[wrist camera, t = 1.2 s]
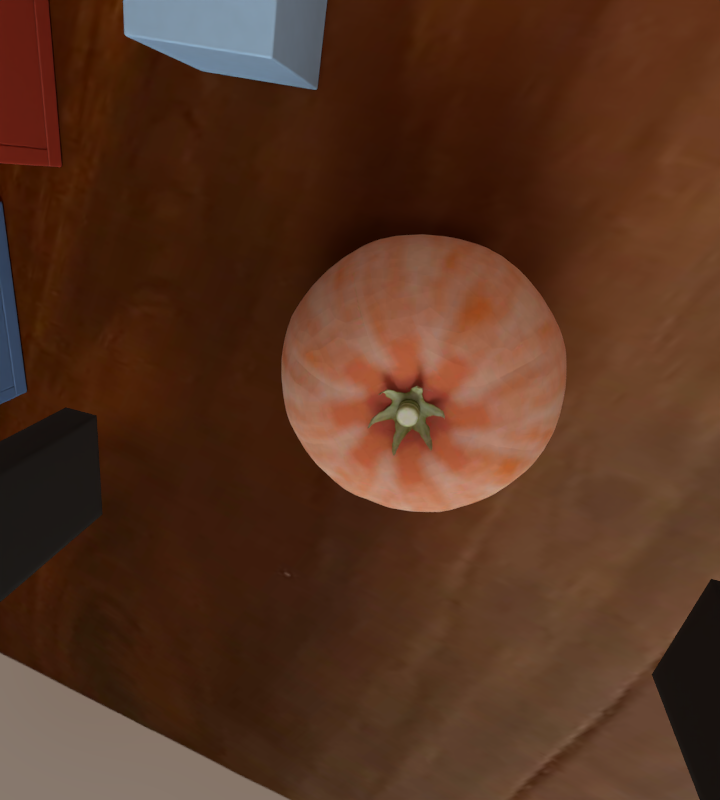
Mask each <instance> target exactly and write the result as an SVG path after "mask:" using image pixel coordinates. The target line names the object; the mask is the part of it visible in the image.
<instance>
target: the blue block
mask: <svg viewBox="0 0 720 800" xmlns="http://www.w3.org/2000/svg"><path fill="white" fill-rule="evenodd" d="M326 7H327V0H123V11H124V34H125V36H127V37H129V38H131V39H133V40H135V41H138V42H140V43H142V44H144V45H146V46H149V47H151V48H153V49H155V50H157V51H159V52H162V53H164V54H166V55H168V56H170V57H172V58H175V59H177V60H179V61H181V62H183V63H185V64H188V65H190V66H192V67H194V68H196V69H198V70H201V71H204V72H210V73H216V74H222V75H228V76H234V77H240V78H246V79H253V80H259V81H265V82H271V83H277V84H283V85H289V86H295V87H301V88H307V89H313V90H316V89H317V88H318V79H319V70H320V61H321V52H322V43H323V34H324V25H325V16H326Z"/></svg>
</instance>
